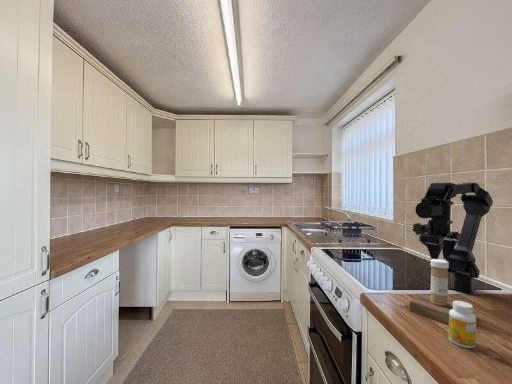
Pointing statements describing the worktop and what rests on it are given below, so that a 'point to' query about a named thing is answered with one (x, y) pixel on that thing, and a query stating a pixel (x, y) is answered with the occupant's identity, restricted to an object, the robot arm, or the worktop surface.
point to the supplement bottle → (462, 325)
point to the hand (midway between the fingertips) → (439, 260)
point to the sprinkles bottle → (439, 282)
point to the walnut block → (431, 309)
